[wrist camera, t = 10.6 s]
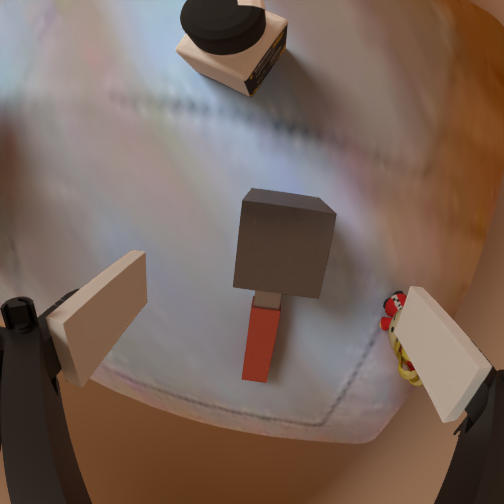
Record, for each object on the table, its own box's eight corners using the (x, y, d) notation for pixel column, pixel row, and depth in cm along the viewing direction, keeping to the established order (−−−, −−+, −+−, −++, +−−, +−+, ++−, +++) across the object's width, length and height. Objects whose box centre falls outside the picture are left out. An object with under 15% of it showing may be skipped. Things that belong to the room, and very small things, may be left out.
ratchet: (257, 190, 30) (250, 202, 22) (306, 197, 29) (317, 211, 22) (236, 365, 37) (228, 407, 29) (274, 370, 37) (272, 413, 29)
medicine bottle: (251, 98, 27) (237, 62, 15) (194, 71, 26) (150, 29, 14) (286, 47, 24) (291, -9, 13) (229, 22, 24) (205, -37, 12)
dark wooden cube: (251, 188, 27) (242, 200, 19) (319, 197, 26) (336, 213, 19) (244, 252, 29) (232, 287, 21) (308, 261, 28) (318, 298, 21)
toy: (402, 262, 31) (468, 330, 16) (427, 299, 32) (486, 370, 18) (357, 301, 33) (398, 388, 18) (386, 334, 34) (428, 417, 20)
